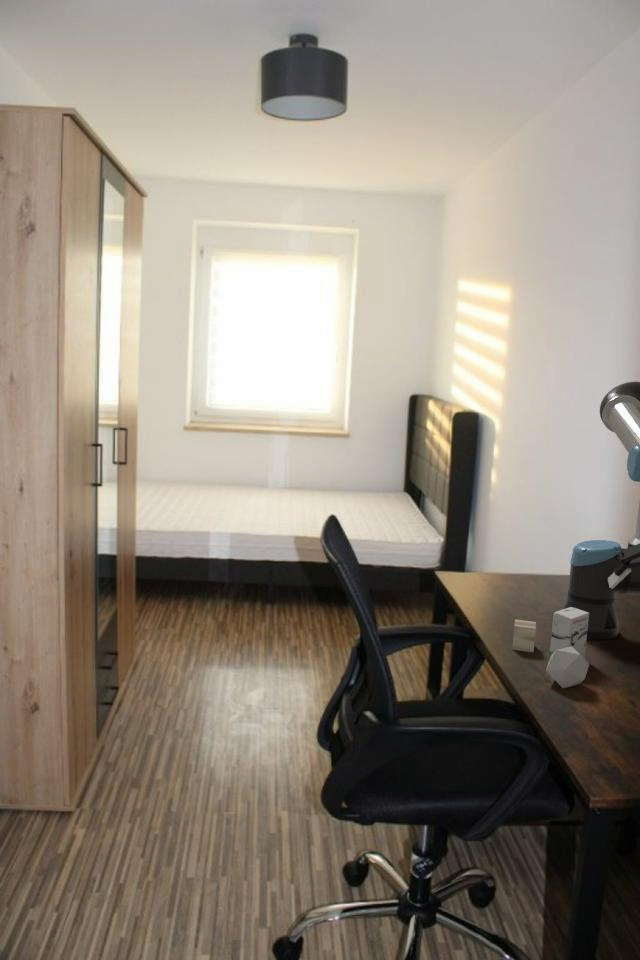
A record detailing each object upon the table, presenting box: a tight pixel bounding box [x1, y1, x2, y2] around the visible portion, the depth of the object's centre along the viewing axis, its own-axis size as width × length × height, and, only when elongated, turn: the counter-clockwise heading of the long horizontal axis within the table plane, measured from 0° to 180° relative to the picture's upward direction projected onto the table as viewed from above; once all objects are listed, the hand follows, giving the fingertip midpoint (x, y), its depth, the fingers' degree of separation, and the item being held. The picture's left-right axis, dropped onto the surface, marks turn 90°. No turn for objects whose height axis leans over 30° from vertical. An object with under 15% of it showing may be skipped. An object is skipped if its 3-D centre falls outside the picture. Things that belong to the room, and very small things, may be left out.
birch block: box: [511, 619, 537, 653], centre depth 201 cm, size 5×5×6 cm
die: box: [545, 646, 590, 689], centre depth 180 cm, size 8×9×10 cm
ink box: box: [548, 607, 589, 661], centre depth 193 cm, size 9×5×12 cm, turn 134°
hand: (636, 594), depth 182 cm, fingers open, 13 cm apart
